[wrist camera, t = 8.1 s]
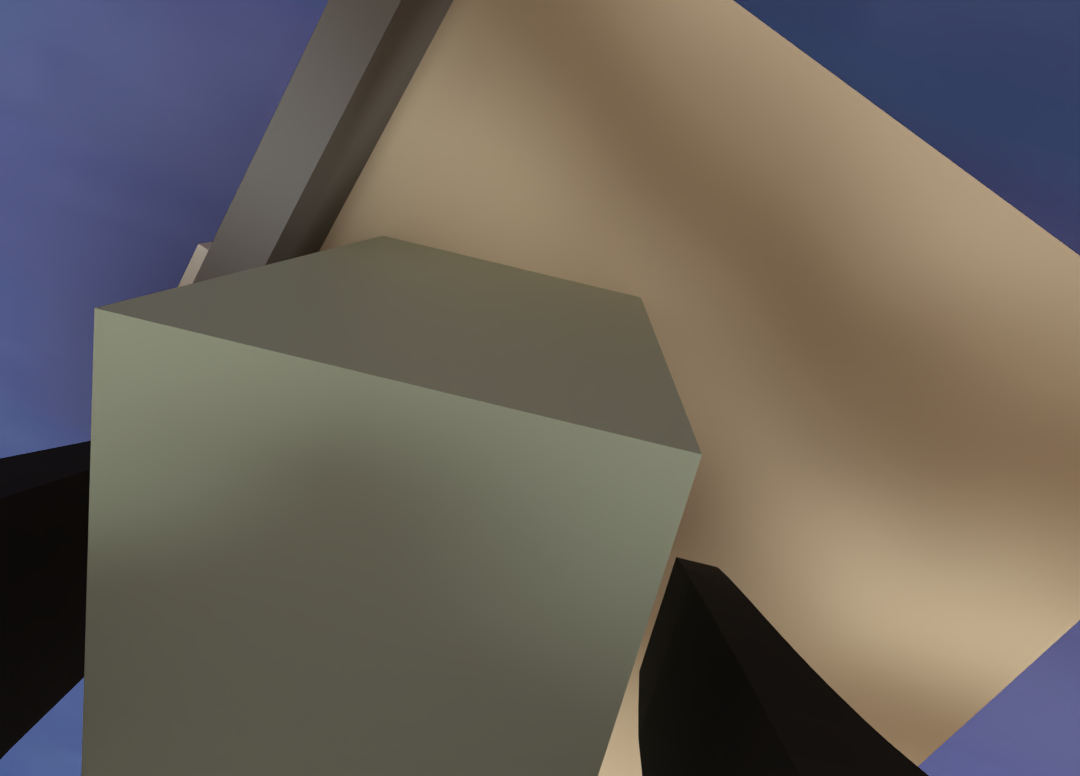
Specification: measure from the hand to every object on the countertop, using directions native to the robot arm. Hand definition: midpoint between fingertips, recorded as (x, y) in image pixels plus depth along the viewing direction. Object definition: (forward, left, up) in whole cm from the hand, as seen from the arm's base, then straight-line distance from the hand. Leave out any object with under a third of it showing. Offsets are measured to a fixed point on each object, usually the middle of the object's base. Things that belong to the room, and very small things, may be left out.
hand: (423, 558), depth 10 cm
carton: (0, 0, -3) cm, 3 cm away
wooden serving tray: (0, +3, -4) cm, 5 cm away
